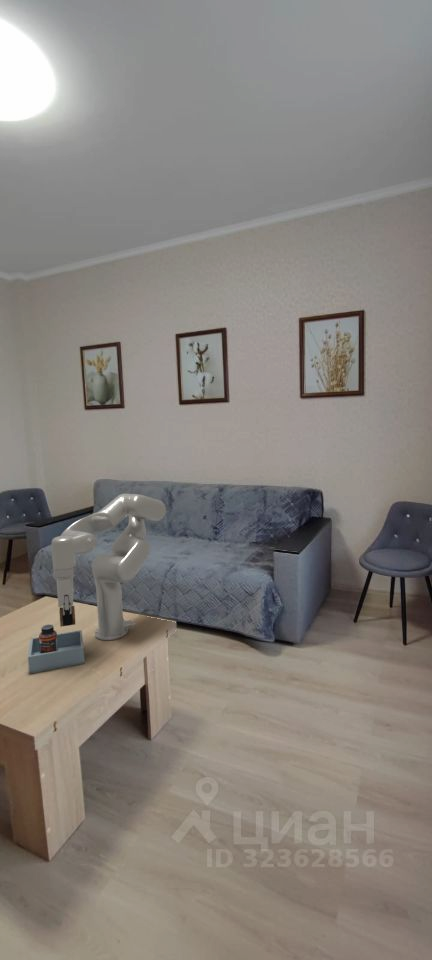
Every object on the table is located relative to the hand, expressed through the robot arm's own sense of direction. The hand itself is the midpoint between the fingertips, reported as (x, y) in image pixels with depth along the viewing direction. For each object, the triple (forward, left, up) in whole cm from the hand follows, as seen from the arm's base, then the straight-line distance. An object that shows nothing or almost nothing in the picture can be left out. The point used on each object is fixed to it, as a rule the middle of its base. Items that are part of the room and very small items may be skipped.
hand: (68, 621), depth 160 cm
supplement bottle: (+7, 0, -12) cm, 14 cm away
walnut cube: (0, 0, -1) cm, 1 cm away
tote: (+4, 0, -13) cm, 14 cm away
